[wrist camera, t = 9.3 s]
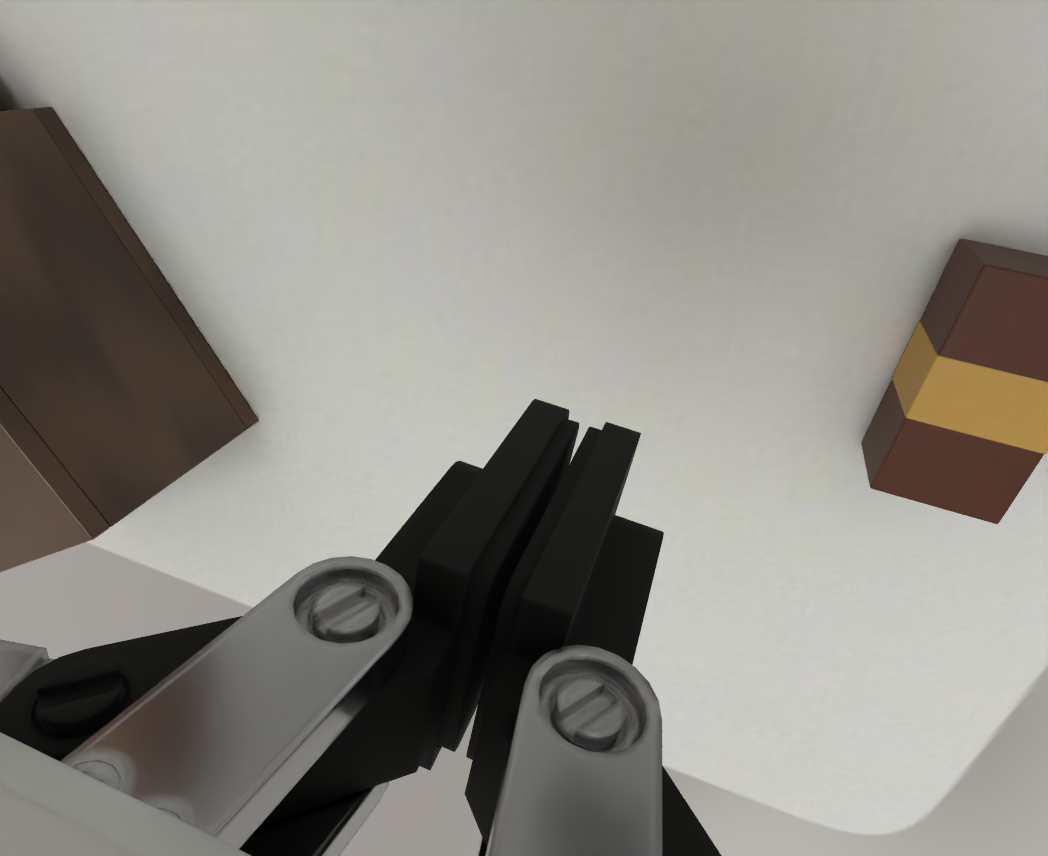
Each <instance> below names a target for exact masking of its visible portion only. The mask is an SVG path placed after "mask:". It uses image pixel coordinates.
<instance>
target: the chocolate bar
mask: <svg viewBox="0 0 1048 856" xmlns="http://www.w3.org/2000/svg"><path fill="white" fill-rule="evenodd" d="M861 444H862V449H863V454H864V459H865V464H866V469H867V474H868V479H869V484H870V487H871V488H872V489H875V490H879V491H882V492H886V493H889V494H893V495H896V496H900V497H903V498H907V499H910V500H914V501H917V502H921V503H925V504H928V505H932V506H935V507H939V508H942V509H946V510H949V511H953V512H956V513H960V514H963V515H967V516H970V517H974V518H977V519H981V520H984V521H988V522H991V523H995V524H998V523H999V522H1000V520H1001V519H1002V517H1003V516H1004V514H1005V513H1006V511H1007V510H1008V508H1009V507H1010V505H1011V504H1012V502H1013V501H1014V499H1015V498H1016V496H1017V495H1018V493H1019V491H1020V490H1021V488H1022V487H1023V485H1024V484H1025V482H1026V481H1027V479H1028V478H1029V476H1030V475H1031V473H1032V472H1033V470H1034V469H1035V467H1036V466H1037V464H1038V463H1039V461H1040V460H1041V458H1042V457H1043V455H1044V454H1046V453H1047V451H1048V257H1047V256H1043V255H1038V254H1033V253H1028V252H1023V251H1019V250H1014V249H1009V248H1004V247H999V246H995V245H990V244H985V243H980V242H975V241H971V240H966V239H960V240H959V242H958V244H957V246H956V248H955V250H954V252H953V254H952V256H951V258H950V260H949V262H948V264H947V266H946V269H945V271H944V273H943V275H942V277H941V279H940V281H939V283H938V285H937V287H936V289H935V291H934V293H933V296H932V298H931V300H930V302H929V304H928V306H927V308H926V310H925V312H924V314H923V316H922V318H921V320H920V321H919V322H918V325H917V327H916V329H915V331H914V333H913V335H912V337H911V339H910V341H909V343H908V345H907V347H906V349H905V352H904V354H903V356H902V358H901V360H900V362H899V364H898V366H897V368H896V370H895V372H894V374H893V377H892V381H891V383H890V385H889V387H888V389H887V391H886V393H885V395H884V397H883V399H882V401H881V404H880V406H879V408H878V410H877V412H876V414H875V416H874V418H873V420H872V422H871V424H870V426H869V428H868V431H867V433H866V435H865V437H864V439H863V441H862V443H861Z"/></svg>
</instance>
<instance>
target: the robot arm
mask: <svg viewBox="0 0 1048 856" xmlns="http://www.w3.org/2000/svg"><path fill="white" fill-rule="evenodd" d="M568 418H569V410H568V409H565V408H562V407H559V406H556V405H553V404H550V403H546V402H543V401H540V400H537V399H534V400H533V401H532V402H531V404H530V405H529V407H528V408H527V409H526V411H525V412H524V413H523V415H522V416H521V417H520V419H519V420H518V422H517V423H516V424H515V426H514V427H513V428H512V430H511V431H510V433H509V434H508V435H507V437H506V438H505V439H504V441H503V442H502V444H501V445H500V446H499V448H498V449H497V450H496V452H495V453H494V455H493V456H492V457H491V459H490V460H489V461H488V463H487V464H486V466H485V467H484V468H483V469H482V468H479V467H476V466H473V465H470V464H468V463H465V462H462V461H457V462H455V463H454V464H453V465H452V466H451V467H450V469H449V470H448V471H447V472H446V474H445V475H444V476H443V477H442V478H441V480H440V481H439V482H438V483H437V485H436V486H435V487H434V488H433V490H432V491H431V492H430V493H429V494H428V496H427V497H426V498H425V499H424V501H423V502H422V503H421V504H420V506H419V507H418V508H417V509H416V510H415V512H414V513H413V514H412V515H411V517H410V518H409V519H408V520H407V522H406V523H405V524H404V525H403V526H402V528H401V529H400V530H399V531H398V533H397V534H396V535H395V536H394V538H393V539H392V540H391V541H390V542H389V544H388V545H387V546H386V547H385V549H384V550H383V551H382V552H381V554H380V555H379V556H378V557H377V558H376V560H375V561H374V560H372V559H367V558H360V557H352V556H350V557H337V558H330V559H327V560H323V561H320V562H317V563H314V564H312V565H310V566H308V567H307V568H305V569H303V570H301V571H300V572H298V573H297V574H295V575H294V576H293V577H291V578H290V579H289V580H288V581H286V582H285V583H284V584H283V585H281V586H280V587H279V588H278V589H276V590H275V591H274V592H273V593H271V594H270V595H269V596H268V597H266V598H265V599H264V600H263V601H261V602H260V603H259V604H257V605H256V606H255V607H254V608H252V609H251V610H250V611H249V612H248V613H246V614H245V615H244V616H241V617H236V618H231V619H226V620H222V621H217V622H212V623H207V624H203V625H198V626H193V627H188V628H184V629H179V630H174V631H169V632H165V633H160V634H155V635H150V636H146V637H141V638H136V639H132V640H126V641H122V642H117V643H112V644H107V645H103V646H98V647H93V648H89V649H84V650H81V651H78V652H75V653H71V654H68V655H65V656H62V657H59V658H57V659H49V656H48V653H47V650H46V648H43V647H37V646H32V645H27V644H21V643H16V642H10V641H5V640H0V856H340V855H341V853H342V852H343V850H344V849H345V848H346V846H347V845H348V844H349V842H350V840H351V839H352V838H353V837H354V835H355V834H356V833H357V832H358V830H359V829H360V827H361V826H362V825H363V823H364V822H365V820H366V819H367V818H368V817H369V815H370V814H371V812H372V811H373V810H374V808H375V807H376V806H377V804H378V803H379V802H380V800H381V798H382V796H383V794H384V793H385V791H386V789H387V787H388V784H389V781H392V780H394V779H397V778H400V777H403V776H406V775H409V774H412V773H415V772H416V771H417V769H418V767H419V766H421V767H423V768H426V769H428V770H431V768H432V766H433V764H434V762H435V759H436V757H437V755H438V753H439V751H440V749H441V747H444V748H447V749H449V750H451V751H454V752H455V750H456V749H457V747H458V746H459V744H460V742H461V740H462V737H463V735H464V733H465V731H466V729H467V727H468V725H469V722H470V720H471V718H472V716H473V714H474V712H475V709H476V707H477V705H478V707H477V711H476V716H475V720H474V725H473V729H472V734H471V738H470V742H469V746H468V751H467V757H468V758H470V759H472V760H473V761H472V766H471V770H470V774H469V778H468V783H467V786H466V791H465V796H466V798H467V800H468V803H469V805H470V808H471V810H472V812H473V815H474V818H475V820H476V823H477V825H478V828H479V830H480V832H481V835H482V838H481V842H480V845H479V850H478V854H477V856H721V854H720V853H719V851H718V850H717V848H716V847H715V845H714V844H713V842H712V841H711V839H710V838H709V836H708V835H707V833H706V831H705V830H704V828H703V827H702V825H701V824H700V822H699V821H698V819H697V818H696V816H695V815H694V813H693V812H692V810H691V809H690V807H689V805H688V804H687V802H686V801H685V799H684V798H683V797H682V795H681V794H680V792H679V790H678V789H677V787H676V786H675V784H674V782H673V781H672V779H671V778H670V776H669V775H668V773H667V772H666V770H665V769H664V767H663V766H662V718H661V712H660V706H659V701H658V699H657V697H656V695H655V693H654V691H653V689H652V687H651V685H650V683H649V682H648V681H647V680H646V679H645V677H644V676H643V675H642V674H641V673H640V672H639V671H638V670H637V669H636V667H634V666H633V665H632V664H633V660H634V655H635V651H636V647H637V643H638V639H639V635H640V631H641V626H642V622H643V618H644V614H645V610H646V606H647V602H648V598H649V593H650V589H651V585H652V581H653V577H654V573H655V569H656V565H657V560H658V556H659V552H660V548H661V544H662V540H663V535H664V532H662V531H659V530H656V529H653V528H651V527H648V526H645V525H642V524H639V523H636V522H633V521H631V520H628V519H625V518H622V517H619V516H616V515H615V513H616V510H617V507H618V504H619V500H620V497H621V494H622V491H623V488H624V485H625V482H626V479H627V476H628V472H629V469H630V466H631V463H632V460H633V457H634V454H635V451H636V448H637V444H638V441H639V438H640V435H641V433H639V432H636V431H633V430H630V429H627V428H624V427H620V426H617V425H614V424H611V423H608V422H606V423H605V425H604V427H603V429H602V430H599V429H596V428H593V427H589V428H588V430H587V432H586V434H585V436H584V438H583V440H582V442H581V444H580V446H579V447H578V449H577V451H576V453H575V455H574V457H573V459H572V461H571V463H570V460H571V456H572V453H573V449H574V445H575V441H576V437H577V434H578V429H579V423H578V422H575V421H572V420H569V419H568ZM569 464H570V465H569Z"/></svg>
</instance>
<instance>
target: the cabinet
mask: <svg viewBox="0 0 1048 856" xmlns="http://www.w3.org/2000/svg"><path fill="white" fill-rule="evenodd" d="M257 422H258V419H257V418H256V416H255V415H254V413H253V412H252V410H251V409H250V407H249V406H248V404H247V403H246V401H245V400H244V398H243V397H242V395H241V394H240V392H239V391H238V389H237V388H236V386H235V385H234V383H233V382H232V380H231V378H230V377H229V375H228V374H227V372H226V371H225V369H224V368H223V366H222V365H221V363H220V362H219V360H218V359H217V357H216V356H215V354H214V353H213V351H212V350H211V348H210V347H209V345H208V344H207V342H206V341H205V339H204V338H203V336H202V335H201V333H200V332H199V330H198V329H197V327H196V326H195V324H194V323H193V321H192V320H191V318H190V317H189V315H188V314H187V312H186V311H185V309H184V308H183V306H182V305H181V303H180V302H179V300H178V298H177V297H176V295H175V294H174V292H173V291H172V289H171V288H170V286H169V285H168V283H167V282H166V280H165V279H164V277H163V276H162V274H161V273H160V271H159V270H158V268H157V267H156V265H155V264H154V262H153V261H152V259H151V258H150V256H149V255H148V253H147V252H146V250H145V249H144V247H143V246H142V244H141V243H140V241H139V240H138V238H137V237H136V235H135V234H134V232H133V231H132V229H131V228H130V226H129V225H128V223H127V221H126V220H125V218H124V217H123V215H122V214H121V212H120V211H119V209H118V208H117V206H116V205H115V203H114V202H113V200H112V199H111V197H110V196H109V194H108V193H107V191H106V190H105V188H104V187H103V185H102V184H101V182H100V181H99V179H98V178H97V176H96V175H95V173H94V172H93V170H92V169H91V167H90V166H89V164H88V163H87V161H86V160H85V158H84V157H83V155H82V154H81V152H80V151H79V149H78V148H77V146H76V145H75V143H74V141H73V140H72V138H71V137H70V135H69V134H68V132H67V131H66V129H65V128H64V126H63V125H62V123H61V122H60V120H59V119H58V117H57V116H56V114H55V113H54V111H53V110H52V108H51V107H46V108H34V109H22V110H10V111H0V572H2V571H5V570H7V569H10V568H13V567H16V566H19V565H22V564H25V563H27V562H30V561H33V560H36V559H39V558H42V557H45V556H47V555H50V554H53V553H56V552H59V551H62V550H64V549H67V548H70V547H73V546H76V545H79V544H81V543H84V542H87V541H90V540H93V539H95V538H96V537H97V536H99V535H100V534H102V533H103V532H104V531H106V530H107V529H108V528H109V527H111V526H113V525H114V524H116V523H117V522H118V521H120V520H121V519H123V518H124V517H125V516H127V515H128V514H130V513H131V512H132V511H134V510H135V509H137V508H138V507H139V506H141V505H142V504H144V503H145V502H146V501H148V500H149V499H151V498H152V497H153V496H155V495H156V494H157V493H159V492H160V491H162V490H163V489H164V488H166V487H167V486H169V485H170V484H171V483H173V482H174V481H176V480H177V479H178V478H180V477H181V476H183V475H184V474H185V473H187V472H188V471H190V470H191V469H192V468H194V467H195V466H197V465H198V464H199V463H201V462H202V461H204V460H205V459H206V458H208V457H209V456H211V455H212V454H213V453H215V452H216V451H218V450H219V449H220V448H222V447H223V446H224V445H226V444H227V443H229V442H230V441H231V440H233V439H234V438H236V437H237V436H238V435H240V434H241V433H243V432H244V431H245V430H246V429H248V428H250V427H251V426H252V425H254V424H255V423H257Z"/></svg>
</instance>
